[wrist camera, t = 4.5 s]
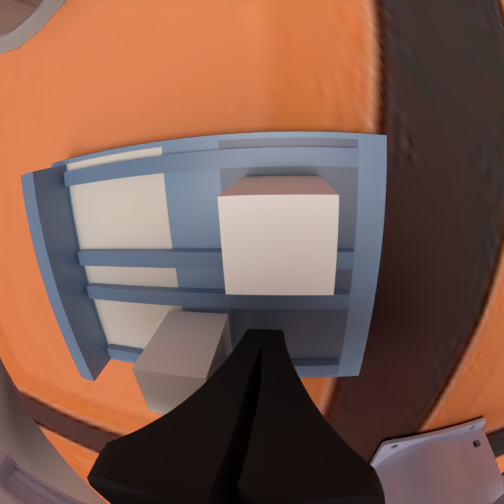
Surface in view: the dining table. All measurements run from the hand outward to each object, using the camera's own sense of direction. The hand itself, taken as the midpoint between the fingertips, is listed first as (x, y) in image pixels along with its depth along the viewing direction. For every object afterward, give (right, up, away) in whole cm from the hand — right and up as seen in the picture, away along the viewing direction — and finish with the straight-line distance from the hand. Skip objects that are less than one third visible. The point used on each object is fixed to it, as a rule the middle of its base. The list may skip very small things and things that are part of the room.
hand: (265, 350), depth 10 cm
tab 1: (-2, 0, +1) cm, 3 cm away
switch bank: (-2, +3, +2) cm, 4 cm away
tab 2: (0, +5, -1) cm, 5 cm away
